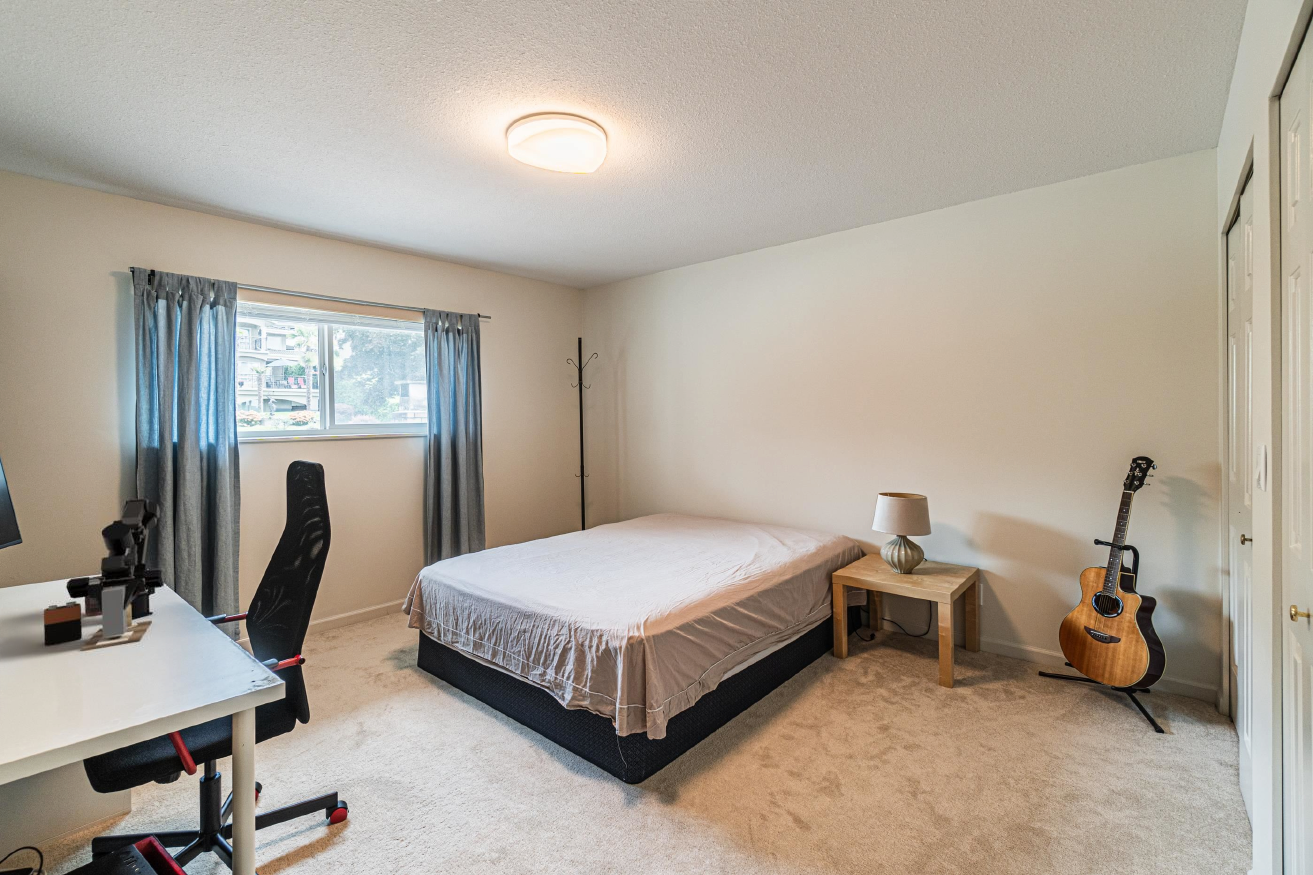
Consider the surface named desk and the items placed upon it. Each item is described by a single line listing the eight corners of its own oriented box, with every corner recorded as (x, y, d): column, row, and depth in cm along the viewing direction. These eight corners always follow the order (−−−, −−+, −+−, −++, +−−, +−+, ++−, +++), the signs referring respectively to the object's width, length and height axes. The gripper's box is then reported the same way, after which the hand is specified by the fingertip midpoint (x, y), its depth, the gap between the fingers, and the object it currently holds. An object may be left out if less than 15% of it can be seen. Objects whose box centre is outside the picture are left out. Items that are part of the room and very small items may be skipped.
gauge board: (99, 630, 158) (99, 607, 158) (152, 622, 164) (151, 599, 164) (81, 650, 143) (80, 624, 142) (139, 641, 149) (138, 616, 149)
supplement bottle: (115, 612, 175) (114, 575, 175) (88, 617, 170) (87, 580, 170) (108, 609, 178) (107, 573, 178) (82, 614, 173) (81, 577, 173)
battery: (81, 639, 151) (80, 602, 151) (44, 646, 146) (43, 608, 146) (81, 635, 154) (80, 599, 154) (44, 642, 149) (43, 605, 149)
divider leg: (106, 632, 150) (105, 588, 150) (126, 629, 152) (125, 585, 152) (102, 637, 147) (101, 591, 146) (123, 634, 149) (122, 588, 149)
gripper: (67, 548, 147) (55, 600, 138) (161, 539, 158) (155, 587, 149) (76, 572, 154) (65, 623, 145) (166, 562, 164) (161, 609, 155)
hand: (113, 610), depth 148 cm, fingers closed on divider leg, 4 cm apart
